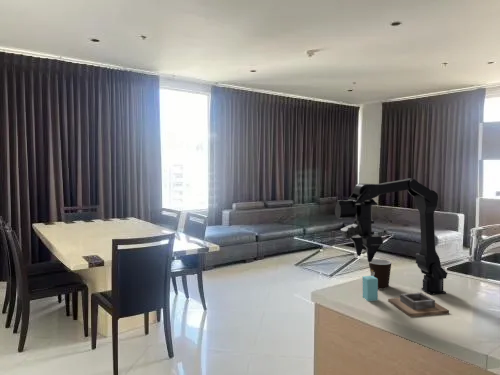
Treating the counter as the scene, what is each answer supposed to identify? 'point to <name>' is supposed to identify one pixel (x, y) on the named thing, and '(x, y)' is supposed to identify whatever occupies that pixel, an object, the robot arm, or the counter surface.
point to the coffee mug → (381, 271)
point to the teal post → (370, 288)
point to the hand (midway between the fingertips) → (364, 258)
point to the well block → (417, 305)
